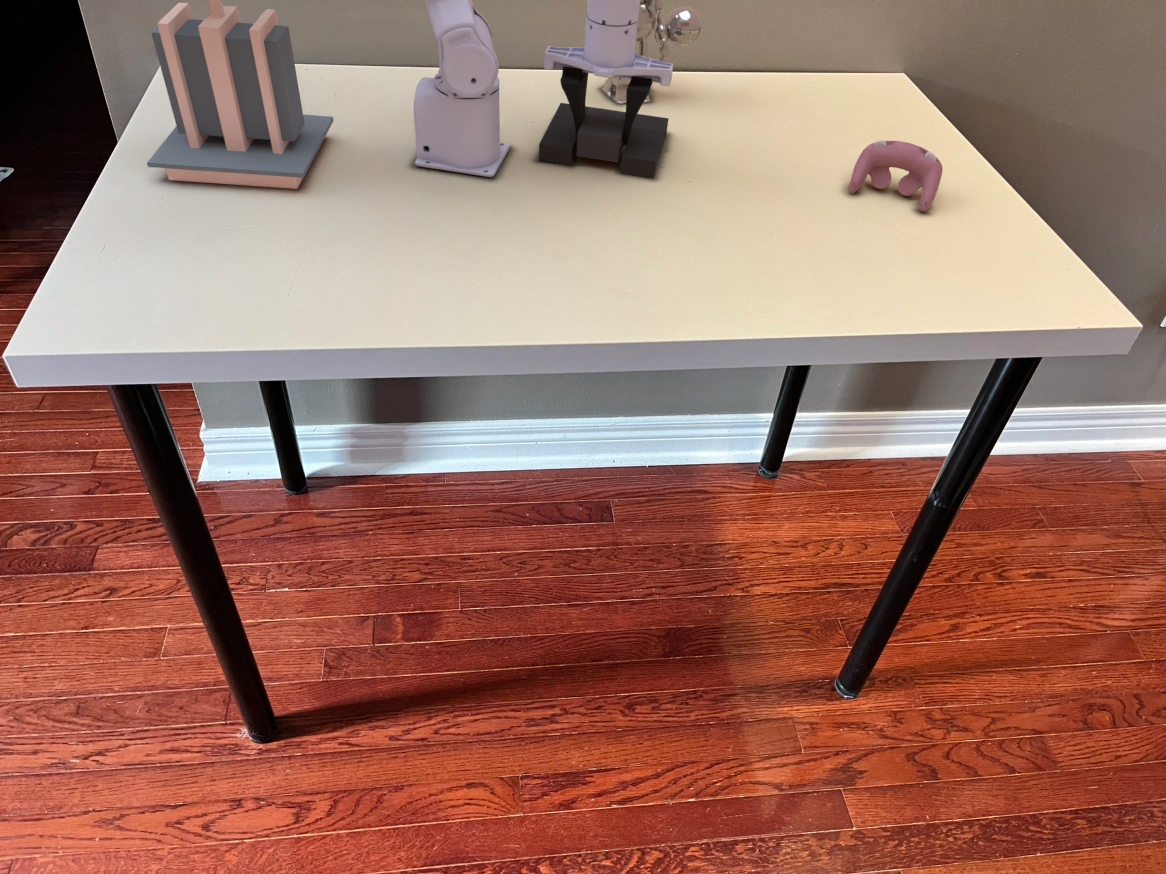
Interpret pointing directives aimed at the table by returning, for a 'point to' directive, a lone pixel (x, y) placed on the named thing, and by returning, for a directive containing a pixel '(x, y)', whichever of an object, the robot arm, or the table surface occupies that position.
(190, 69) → the striped block on base
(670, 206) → the table surface
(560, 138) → the notched dark slab
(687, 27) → the robot toy
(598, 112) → the pad
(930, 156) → the video game controller
